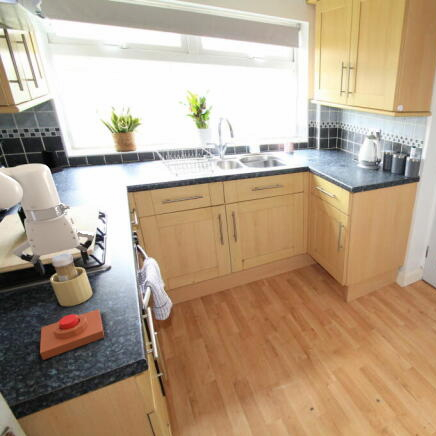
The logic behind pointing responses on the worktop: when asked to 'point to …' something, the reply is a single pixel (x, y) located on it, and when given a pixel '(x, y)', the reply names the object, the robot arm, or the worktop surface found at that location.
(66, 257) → the sprinkles bottle
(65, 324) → the button
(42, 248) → the robot arm
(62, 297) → the cup
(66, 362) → the worktop surface
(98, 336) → the panel
